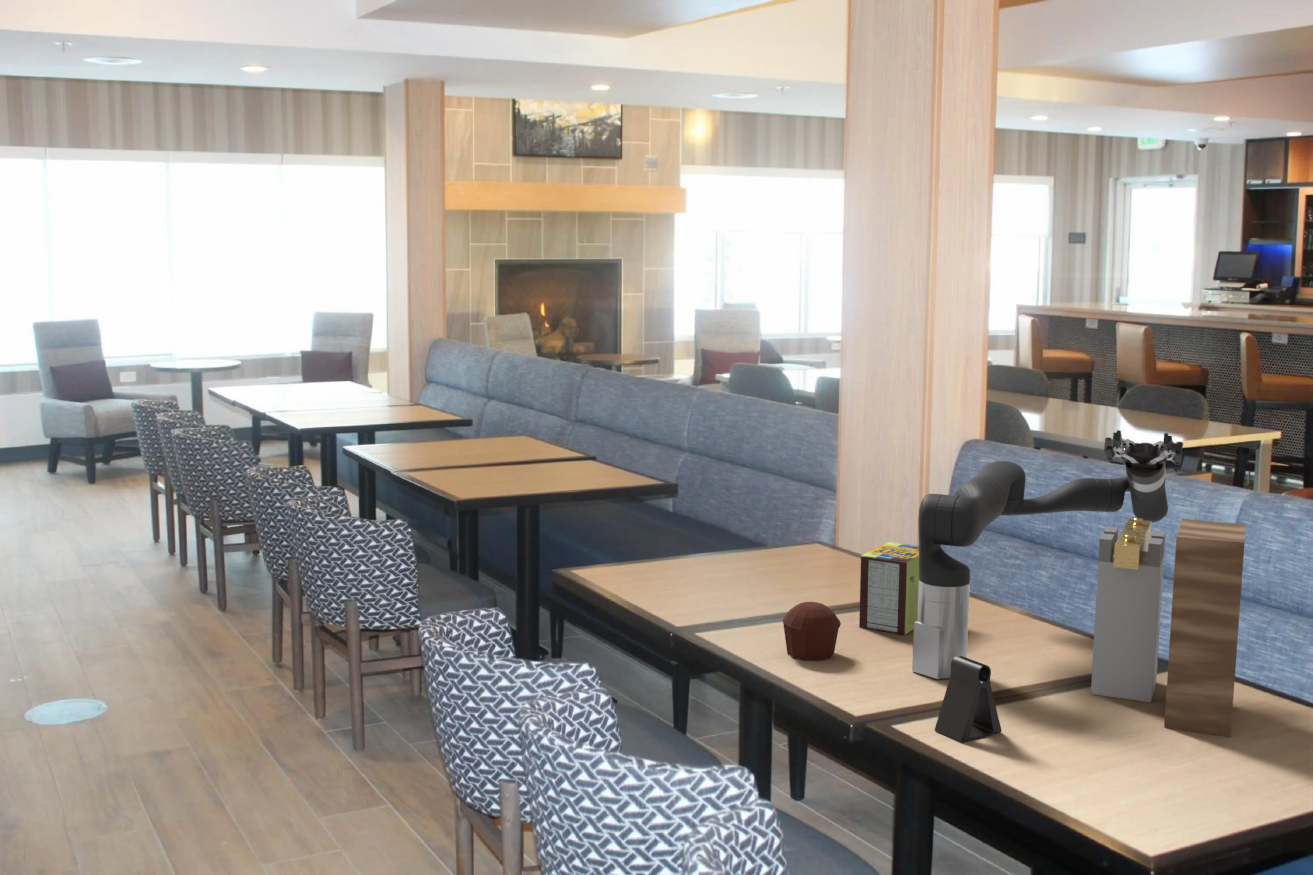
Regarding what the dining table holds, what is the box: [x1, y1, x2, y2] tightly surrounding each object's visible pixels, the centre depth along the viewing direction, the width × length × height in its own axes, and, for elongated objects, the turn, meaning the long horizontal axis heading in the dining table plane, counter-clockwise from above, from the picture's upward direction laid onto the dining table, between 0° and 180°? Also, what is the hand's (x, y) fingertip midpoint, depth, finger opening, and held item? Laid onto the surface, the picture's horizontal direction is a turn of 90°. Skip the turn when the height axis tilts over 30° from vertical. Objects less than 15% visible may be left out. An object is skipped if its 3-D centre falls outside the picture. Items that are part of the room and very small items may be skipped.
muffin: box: [781, 601, 842, 662], centre depth 251 cm, size 12×11×10 cm
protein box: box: [858, 541, 919, 636], centre depth 272 cm, size 10×15×16 cm
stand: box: [1164, 518, 1246, 738], centre depth 216 cm, size 16×10×32 cm, turn 155°
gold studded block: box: [1114, 517, 1152, 570], centre depth 232 cm, size 24×4×5 cm, turn 155°
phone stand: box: [934, 656, 1002, 744], centre depth 210 cm, size 9×6×12 cm, turn 121°
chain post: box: [1090, 525, 1166, 703], centre depth 231 cm, size 12×10×28 cm
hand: (1141, 436), depth 248 cm, fingers open, 8 cm apart
